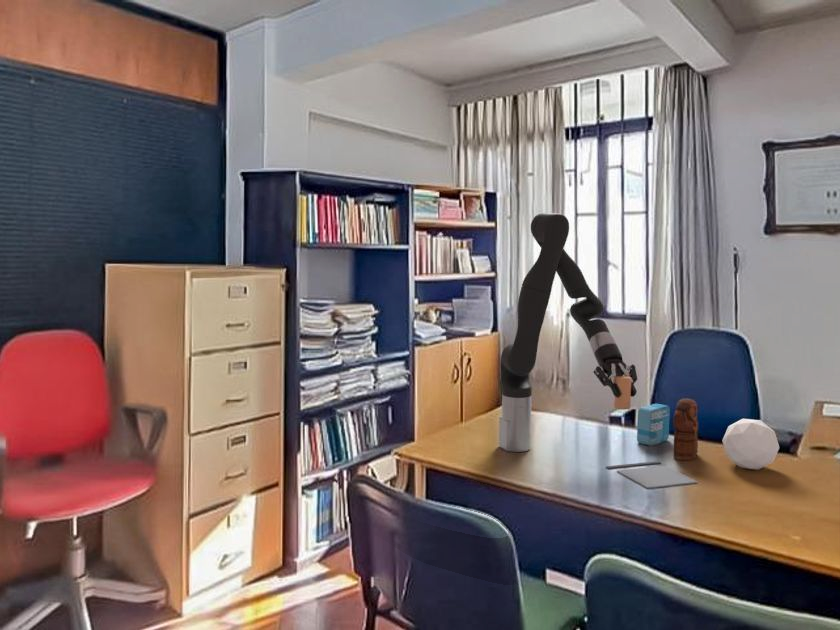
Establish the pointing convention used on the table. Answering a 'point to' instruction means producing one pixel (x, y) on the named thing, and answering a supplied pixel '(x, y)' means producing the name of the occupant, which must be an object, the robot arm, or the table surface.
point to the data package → (653, 424)
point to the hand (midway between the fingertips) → (626, 395)
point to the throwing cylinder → (623, 392)
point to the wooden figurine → (685, 430)
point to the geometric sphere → (750, 444)
